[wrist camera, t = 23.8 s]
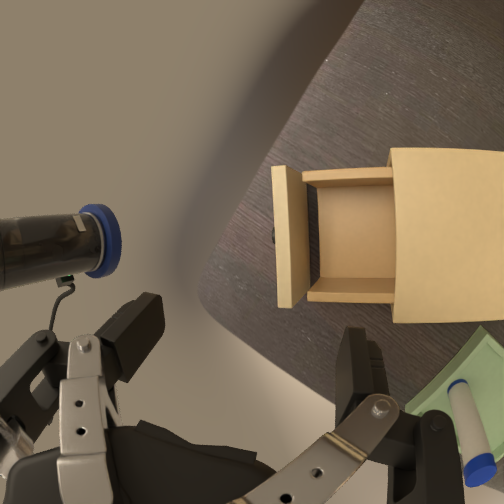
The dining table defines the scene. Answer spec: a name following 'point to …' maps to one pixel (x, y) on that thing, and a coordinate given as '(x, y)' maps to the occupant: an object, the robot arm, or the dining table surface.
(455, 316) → the cabinet
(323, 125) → the dining table surface
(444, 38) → the dining table surface
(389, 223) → the drawer
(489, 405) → the tray
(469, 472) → the marker
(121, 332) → the robot arm
